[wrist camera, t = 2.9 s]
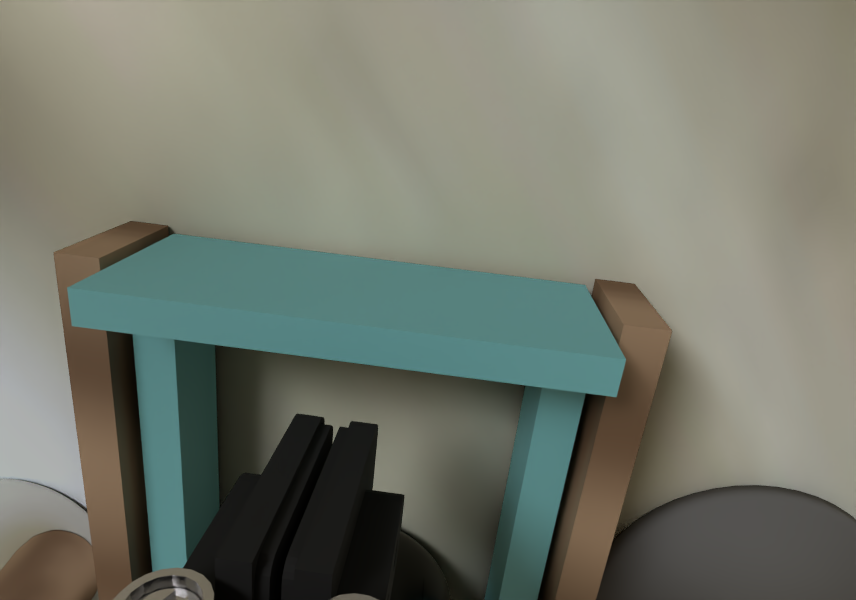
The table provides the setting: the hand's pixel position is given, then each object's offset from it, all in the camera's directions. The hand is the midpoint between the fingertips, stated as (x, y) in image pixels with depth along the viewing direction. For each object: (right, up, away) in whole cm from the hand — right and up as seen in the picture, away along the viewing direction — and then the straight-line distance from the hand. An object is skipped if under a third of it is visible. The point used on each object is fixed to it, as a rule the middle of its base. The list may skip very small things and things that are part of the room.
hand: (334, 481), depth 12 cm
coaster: (+11, -6, +6) cm, 14 cm away
